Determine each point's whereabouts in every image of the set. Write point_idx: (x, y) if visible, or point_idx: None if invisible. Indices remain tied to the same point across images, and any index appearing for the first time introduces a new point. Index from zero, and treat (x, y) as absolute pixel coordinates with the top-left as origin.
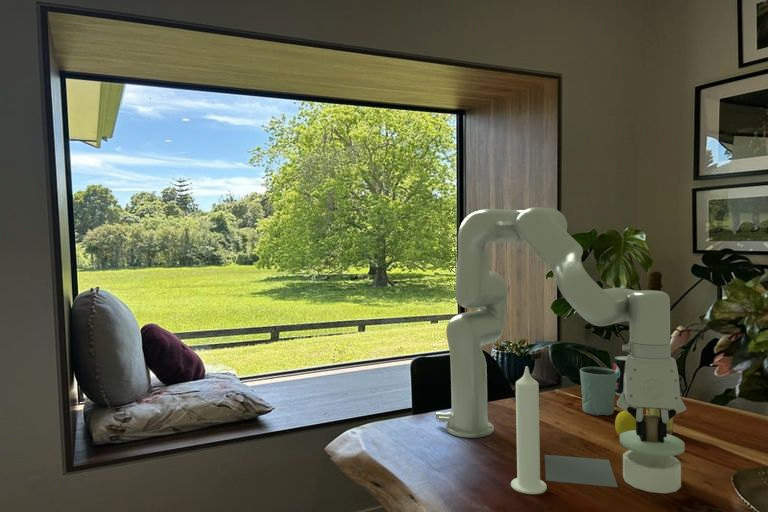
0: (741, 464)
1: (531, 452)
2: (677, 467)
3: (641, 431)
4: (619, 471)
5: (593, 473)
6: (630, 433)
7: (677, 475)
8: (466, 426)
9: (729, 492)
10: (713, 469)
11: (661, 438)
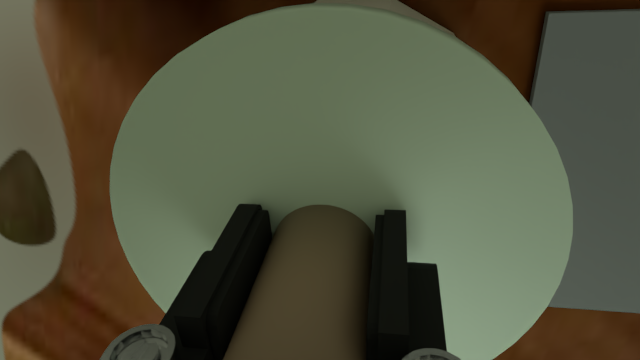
0: (48, 317)
1: None
2: None
3: (406, 268)
4: None
5: (629, 158)
6: (447, 345)
7: None
8: None
9: (66, 98)
10: (122, 276)
11: (248, 220)
